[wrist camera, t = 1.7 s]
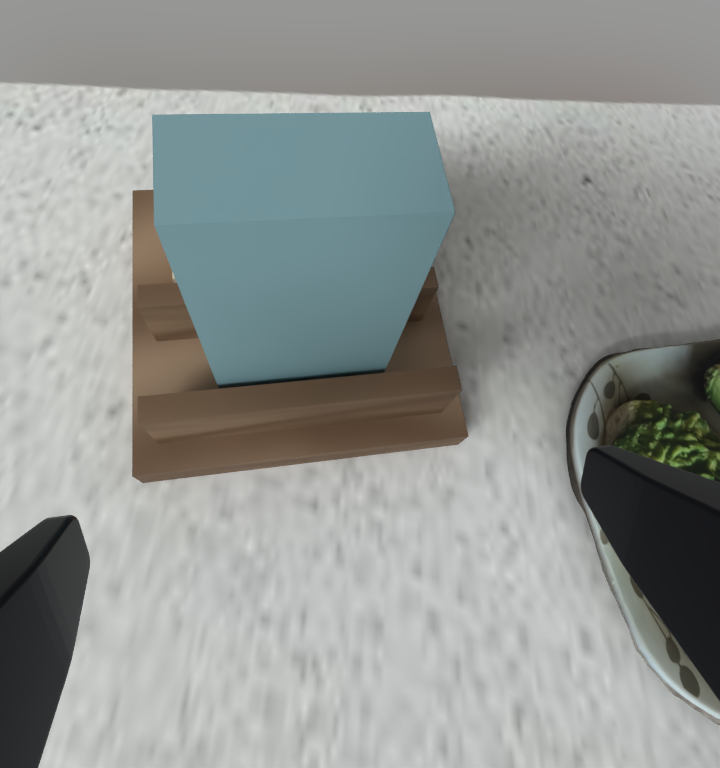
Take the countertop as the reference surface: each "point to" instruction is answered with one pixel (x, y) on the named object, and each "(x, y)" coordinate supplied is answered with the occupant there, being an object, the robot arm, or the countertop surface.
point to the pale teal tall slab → (299, 235)
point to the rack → (273, 389)
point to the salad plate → (658, 442)
